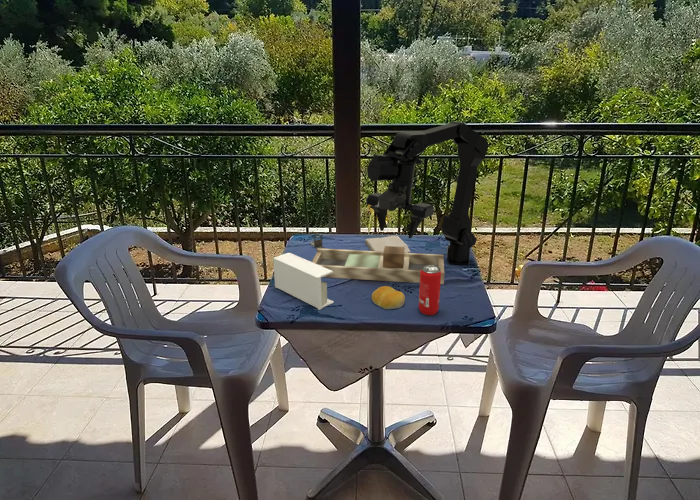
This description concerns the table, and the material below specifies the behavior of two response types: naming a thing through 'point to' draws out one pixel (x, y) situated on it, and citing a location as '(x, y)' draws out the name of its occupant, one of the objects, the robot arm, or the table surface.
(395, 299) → the bread roll
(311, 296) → the white plastic beam
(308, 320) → the table surface
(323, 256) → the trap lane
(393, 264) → the walnut block
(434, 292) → the beverage can
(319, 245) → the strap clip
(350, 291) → the table surface
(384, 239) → the washcloth
